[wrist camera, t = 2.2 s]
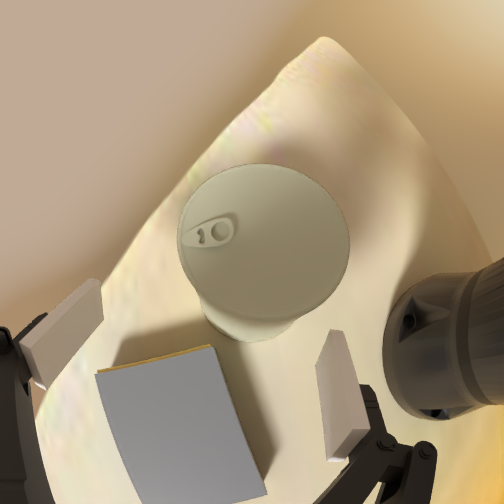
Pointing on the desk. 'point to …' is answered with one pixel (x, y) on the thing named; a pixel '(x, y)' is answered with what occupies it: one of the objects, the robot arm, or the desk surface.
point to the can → (261, 248)
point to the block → (179, 430)
